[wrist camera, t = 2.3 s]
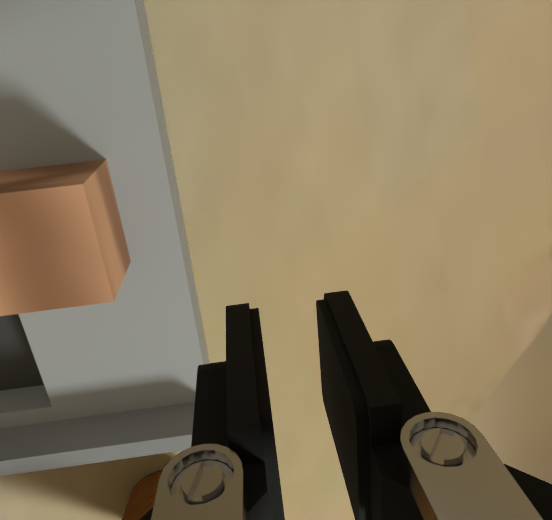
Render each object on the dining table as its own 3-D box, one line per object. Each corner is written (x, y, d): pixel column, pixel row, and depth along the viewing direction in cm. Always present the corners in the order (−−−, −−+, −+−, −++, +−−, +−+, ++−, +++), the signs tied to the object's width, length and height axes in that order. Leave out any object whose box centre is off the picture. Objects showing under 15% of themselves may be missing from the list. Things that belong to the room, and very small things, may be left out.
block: (106, 159, 22) (82, 183, 18) (130, 261, 24) (113, 301, 20) (-9, 172, 22) (-57, 200, 18) (26, 274, 24) (-10, 317, 20)
